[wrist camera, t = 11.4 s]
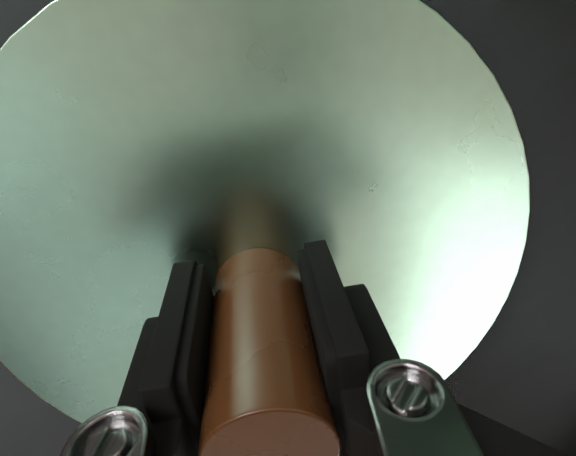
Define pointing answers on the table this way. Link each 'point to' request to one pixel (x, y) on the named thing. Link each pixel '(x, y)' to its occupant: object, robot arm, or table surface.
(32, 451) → the table surface
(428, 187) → the lid
